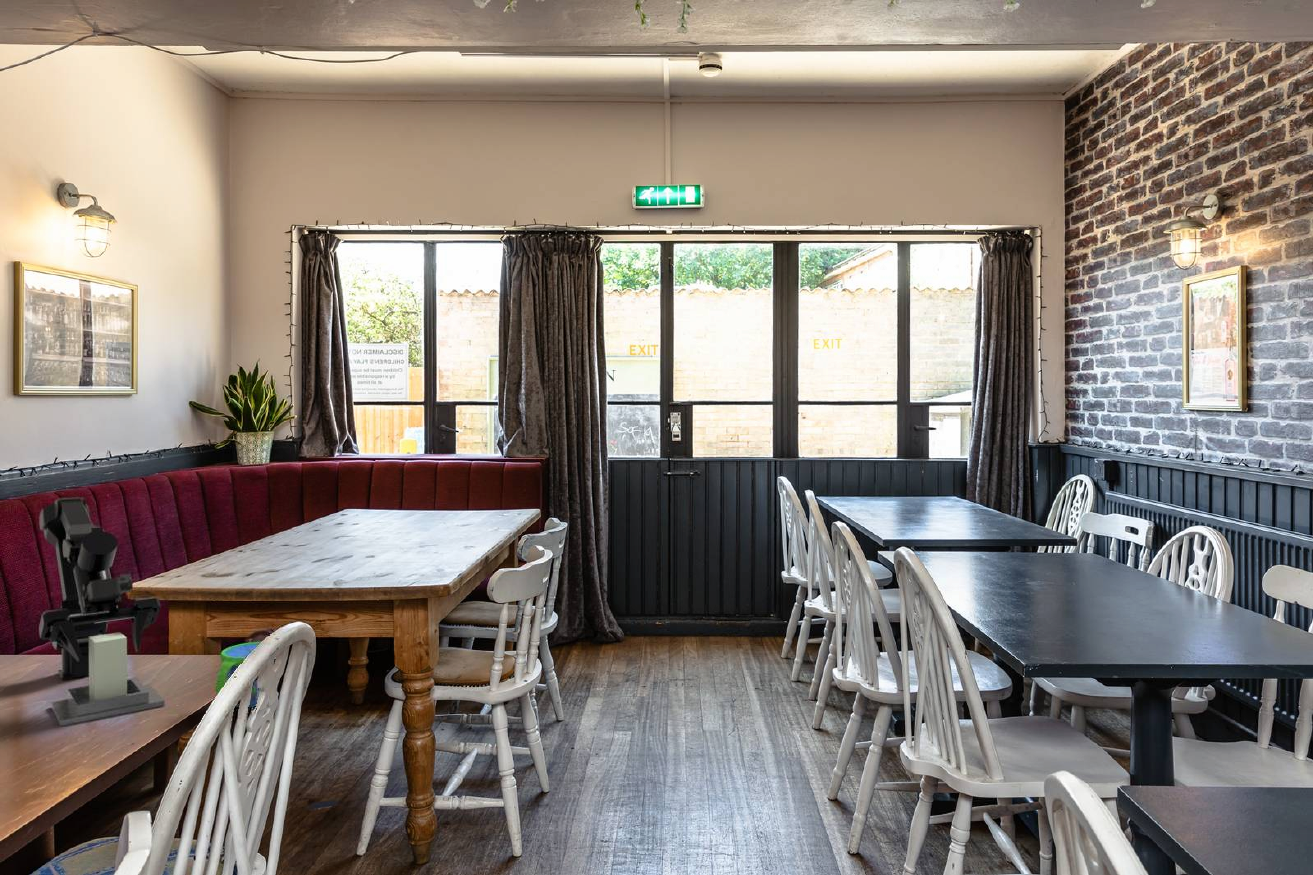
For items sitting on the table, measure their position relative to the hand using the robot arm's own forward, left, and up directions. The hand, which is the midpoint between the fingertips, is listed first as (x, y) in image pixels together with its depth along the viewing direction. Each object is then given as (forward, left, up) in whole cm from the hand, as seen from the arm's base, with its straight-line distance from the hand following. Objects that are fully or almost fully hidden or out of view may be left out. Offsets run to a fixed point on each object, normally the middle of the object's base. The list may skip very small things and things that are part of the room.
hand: (109, 655), depth 156 cm
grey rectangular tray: (-1, 0, -10) cm, 10 cm away
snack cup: (+13, +21, -10) cm, 26 cm away
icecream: (-14, +31, -10) cm, 35 cm away
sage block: (-1, 0, -9) cm, 9 cm away
